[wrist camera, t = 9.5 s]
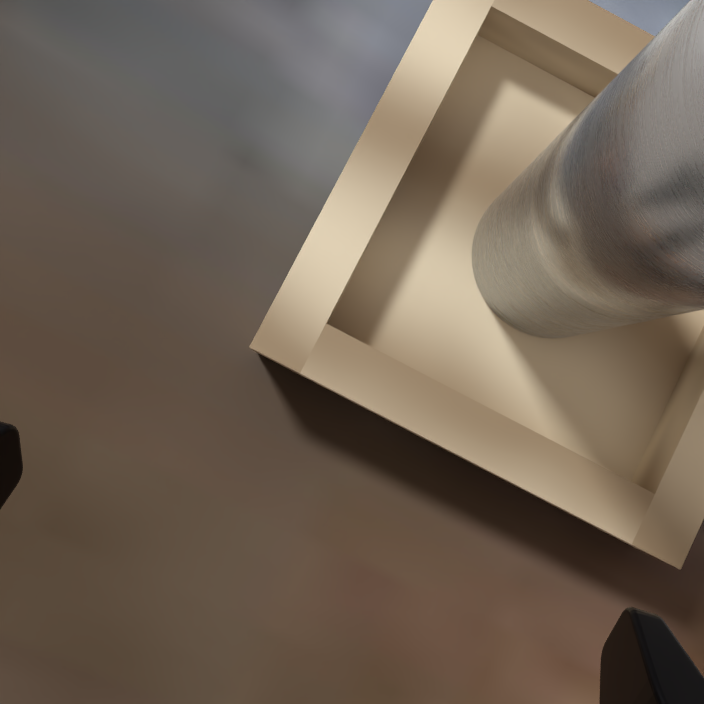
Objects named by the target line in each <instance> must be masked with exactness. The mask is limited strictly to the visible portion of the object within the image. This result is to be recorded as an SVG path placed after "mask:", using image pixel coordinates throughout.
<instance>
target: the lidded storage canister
mask: <svg viewBox="0 0 704 704" xmlns="http://www.w3.org/2000/svg"><path fill="white" fill-rule="evenodd" d="M472 268H473V273H474V278H475V281H476V284H477V287H478V289H479V291H480V293H481V295H482V297H483V298H484V300H485V302H486V303H487V305H488V306H489V307H490V308H491V310H492V311H493V312H494V313H495V314H496V315H497V316H498V317H499V318H500V319H501V320H502V321H504V322H505V323H507V324H508V325H510V326H511V327H513V328H515V329H517V330H518V331H520V332H523V333H526V334H528V335H531V336H536V337H540V338H550V339H553V338H565V337H571V336H576V335H581V334H586V333H591V332H596V331H600V330H605V329H610V328H615V327H620V326H625V325H630V324H635V323H640V322H645V321H650V320H654V319H659V318H664V317H669V316H674V315H679V314H684V313H689V312H694V311H699V310H703V309H704V0H690V1H689V2H688V3H687V4H686V5H685V7H684V8H683V9H682V10H681V11H680V12H679V13H678V14H677V15H676V16H675V17H674V18H673V19H672V20H671V21H670V22H669V23H668V24H667V25H666V26H665V27H664V28H663V29H662V30H661V31H660V32H659V33H658V34H657V35H656V36H655V37H654V38H653V39H652V40H651V41H650V42H649V43H648V44H647V45H646V46H645V47H644V48H643V49H642V50H641V51H640V52H639V53H638V54H637V55H636V56H635V58H634V59H633V60H632V61H631V62H630V63H629V64H628V65H627V66H626V67H625V68H624V69H623V70H622V71H621V72H620V73H619V74H618V75H617V76H616V77H615V78H614V79H613V80H612V81H611V82H610V83H609V84H608V85H607V86H606V87H605V88H604V89H603V90H602V91H601V92H600V93H599V94H598V95H597V96H596V97H595V98H594V99H593V100H592V101H591V102H590V103H589V104H588V105H587V106H586V107H585V109H584V110H583V111H582V112H581V113H580V114H579V115H578V116H577V117H576V118H575V119H574V120H573V121H572V122H571V123H570V124H569V125H568V126H567V127H566V128H565V129H564V130H563V131H562V132H561V133H560V134H559V135H558V136H557V137H556V138H555V139H554V140H553V141H552V142H551V143H550V144H549V145H548V146H547V147H546V148H545V149H544V150H543V151H542V152H541V153H540V154H539V155H538V156H537V157H536V158H535V160H534V161H533V162H532V163H531V164H530V165H529V166H528V167H527V168H526V169H525V170H524V171H523V172H522V173H521V174H520V175H519V176H518V177H517V178H516V179H515V180H514V181H513V182H512V183H511V184H510V185H509V186H508V187H507V188H506V189H505V190H504V191H503V192H502V193H501V194H500V195H499V196H498V197H497V198H496V199H495V200H494V201H493V203H492V204H491V205H490V206H489V207H488V208H487V210H486V211H485V213H484V214H483V216H482V218H481V220H480V222H479V224H478V226H477V229H476V232H475V234H474V239H473V244H472Z"/></svg>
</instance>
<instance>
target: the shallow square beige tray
mask: <svg viewBox="0 0 704 704" xmlns="http://www.w3.org/2000/svg"><path fill="white" fill-rule="evenodd" d="M654 37H655V36H653V35H651V34H649V33H647V32H646V31H644V30H642V29H640V28H638V27H636V26H634V25H633V24H631V23H629V22H627V21H625V20H623V19H622V18H620V17H618V16H616V15H614V14H612V13H610V12H609V11H607V10H605V9H603V8H601V7H599V6H597V5H596V4H594V3H592V2H590V1H588V0H433V1H432V3H431V5H430V7H429V9H428V11H427V13H426V15H425V17H424V18H423V20H422V22H421V24H420V26H419V28H418V30H417V32H416V34H415V35H414V37H413V39H412V41H411V43H410V45H409V47H408V49H407V51H406V52H405V54H404V56H403V58H402V60H401V62H400V64H399V66H398V67H397V69H396V71H395V73H394V75H393V77H392V79H391V81H390V83H389V84H388V86H387V88H386V90H385V92H384V94H383V96H382V98H381V100H380V101H379V103H378V105H377V107H376V109H375V111H374V113H373V115H372V117H371V118H370V120H369V122H368V124H367V126H366V128H365V130H364V132H363V134H362V135H361V137H360V139H359V141H358V143H357V145H356V147H355V149H354V151H353V152H352V154H351V156H350V158H349V160H348V162H347V164H346V166H345V168H344V169H343V171H342V173H341V175H340V177H339V179H338V181H337V183H336V184H335V186H334V188H333V190H332V192H331V194H330V196H329V198H328V200H327V201H326V203H325V205H324V207H323V209H322V211H321V213H320V215H319V217H318V218H317V220H316V222H315V224H314V226H313V228H312V230H311V232H310V234H309V235H308V237H307V239H306V241H305V243H304V245H303V247H302V249H301V251H300V252H299V254H298V256H297V258H296V260H295V262H294V264H293V266H292V268H291V269H290V271H289V273H288V275H287V277H286V279H285V281H284V283H283V285H282V286H281V288H280V290H279V292H278V294H277V296H276V298H275V300H274V302H273V303H272V305H271V307H270V309H269V311H268V313H267V315H266V317H265V318H264V320H263V322H262V324H261V326H260V328H259V330H258V332H257V334H256V335H255V337H254V339H253V341H252V343H251V345H250V348H251V349H252V350H254V351H255V352H257V353H258V354H260V355H262V356H264V357H266V358H268V359H270V360H272V361H274V362H276V363H278V364H280V365H282V366H284V367H285V368H287V369H289V370H291V371H293V372H295V373H297V374H299V375H301V376H303V377H305V378H307V379H309V380H311V381H313V382H315V383H316V384H318V385H320V386H322V387H324V388H326V389H328V390H330V391H332V392H334V393H336V394H338V395H340V396H342V397H344V398H346V399H348V400H349V401H351V402H353V403H355V404H357V405H359V406H361V407H363V408H365V409H367V410H369V411H371V412H373V413H375V414H377V415H379V416H380V417H382V418H384V419H386V420H388V421H390V422H392V423H394V424H396V425H398V426H400V427H402V428H404V429H406V430H408V431H410V432H411V433H413V434H415V435H417V436H419V437H421V438H423V439H425V440H427V441H429V442H431V443H433V444H435V445H437V446H439V447H441V448H443V449H444V450H446V451H448V452H450V453H452V454H454V455H456V456H458V457H460V458H462V459H464V460H466V461H468V462H470V463H472V464H474V465H475V466H477V467H479V468H481V469H483V470H485V471H487V472H489V473H491V474H493V475H495V476H497V477H499V478H501V479H503V480H505V481H506V482H508V483H510V484H512V485H514V486H516V487H518V488H520V489H522V490H524V491H526V492H528V493H530V494H532V495H534V496H536V497H537V498H539V499H541V500H543V501H545V502H547V503H549V504H551V505H553V506H555V507H557V508H559V509H561V510H563V511H565V512H567V513H569V514H570V515H572V516H574V517H576V518H578V519H580V520H582V521H584V522H586V523H588V524H590V525H592V526H594V527H596V528H598V529H600V530H601V531H603V532H605V533H607V534H609V535H611V536H613V537H615V538H617V539H619V540H621V541H623V542H625V543H627V544H629V545H631V546H632V547H634V548H636V549H639V550H641V551H643V552H645V553H647V554H649V555H651V556H653V557H655V558H657V559H659V560H661V561H663V562H665V563H668V564H670V565H672V566H674V567H676V568H678V569H680V570H681V567H682V565H683V563H684V561H685V559H686V557H687V554H688V552H689V550H690V548H691V546H692V543H693V541H694V539H695V537H696V535H697V532H698V530H699V528H700V526H701V524H702V521H703V519H704V309H703V310H699V311H694V312H689V313H684V314H679V315H674V316H669V317H664V318H659V319H654V320H650V321H645V322H640V323H635V324H630V325H625V326H620V327H615V328H610V329H605V330H600V331H596V332H591V333H586V334H581V335H576V336H571V337H565V338H553V339H550V338H540V337H536V336H531V335H528V334H526V333H523V332H520V331H518V330H517V329H515V328H513V327H511V326H510V325H508V324H507V323H505V322H504V321H502V320H501V319H500V318H499V317H498V316H497V315H496V314H495V313H494V312H493V311H492V310H491V308H490V307H489V306H488V305H487V303H486V302H485V300H484V298H483V297H482V295H481V293H480V291H479V289H478V287H477V284H476V281H475V278H474V273H473V268H472V244H473V239H474V234H475V232H476V229H477V226H478V224H479V222H480V220H481V218H482V216H483V214H484V213H485V211H486V210H487V208H488V207H489V206H490V205H491V204H492V203H493V201H494V200H495V199H496V198H497V197H498V196H499V195H500V194H501V193H502V192H503V191H504V190H505V189H506V188H507V187H508V186H509V185H510V184H511V183H512V182H513V181H514V180H515V179H516V178H517V177H518V176H519V175H520V174H521V173H522V172H523V171H524V170H525V169H526V168H527V167H528V166H529V165H530V164H531V163H532V162H533V161H534V160H535V158H536V157H537V156H538V155H539V154H540V153H541V152H542V151H543V150H544V149H545V148H546V147H547V146H548V145H549V144H550V143H551V142H552V141H553V140H554V139H555V138H556V137H557V136H558V135H559V134H560V133H561V132H562V131H563V130H564V129H565V128H566V127H567V126H568V125H569V124H570V123H571V122H572V121H573V120H574V119H575V118H576V117H577V116H578V115H579V114H580V113H581V112H582V111H583V110H584V109H585V107H586V106H587V105H588V104H589V103H590V102H591V101H592V100H593V99H594V98H595V97H596V96H597V95H598V94H599V93H600V92H601V91H602V90H603V89H604V88H605V87H606V86H607V85H608V84H609V83H610V82H611V81H612V80H613V79H614V78H615V77H616V76H617V75H618V74H619V73H620V72H621V71H622V70H623V69H624V68H625V67H626V66H627V65H628V64H629V63H630V62H631V61H632V60H633V59H634V58H635V56H636V55H637V54H638V53H639V52H640V51H641V50H642V49H643V48H644V47H645V46H646V45H647V44H648V43H649V42H650V41H651V40H652V39H653V38H654Z"/></svg>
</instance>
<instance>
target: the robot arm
mask: <svg viewBox="0 0 704 704" xmlns="http://www.w3.org/2000/svg"><path fill="white" fill-rule="evenodd" d="M22 470H23V463H22V455H21V446H20V438H19V432H18V430H17V429H16V427H15V426H13V425H11V424H7V423H4V422H0V509H1V507H2V506H3V505H4V503H5V502H6V500H7V499H8V497H9V496H10V494H11V493H12V491H13V490H14V488H15V487H16V486H17V484H18V482H19V480H20V478H21V475H22ZM600 704H704V677H703V676H702V674H701V673H700V672H699V670H698V669H697V667H696V666H695V664H694V663H693V662H692V660H691V659H690V657H689V656H688V655H687V653H686V652H685V650H684V649H683V647H682V646H681V645H680V643H679V642H678V640H677V639H676V637H675V636H674V635H673V633H672V632H671V630H670V629H669V628H668V626H667V625H666V623H665V622H664V621H663V619H662V618H661V617H659V616H658V615H656V614H654V613H650V612H647V611H644V610H640V609H637V608H633V607H629V608H626V609H625V610H624V611H623V613H622V614H621V616H620V618H619V619H618V621H617V623H616V624H615V626H614V628H613V630H612V631H611V633H610V635H609V637H608V638H607V640H606V642H605V644H604V647H603V650H602V655H601V670H600Z"/></svg>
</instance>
